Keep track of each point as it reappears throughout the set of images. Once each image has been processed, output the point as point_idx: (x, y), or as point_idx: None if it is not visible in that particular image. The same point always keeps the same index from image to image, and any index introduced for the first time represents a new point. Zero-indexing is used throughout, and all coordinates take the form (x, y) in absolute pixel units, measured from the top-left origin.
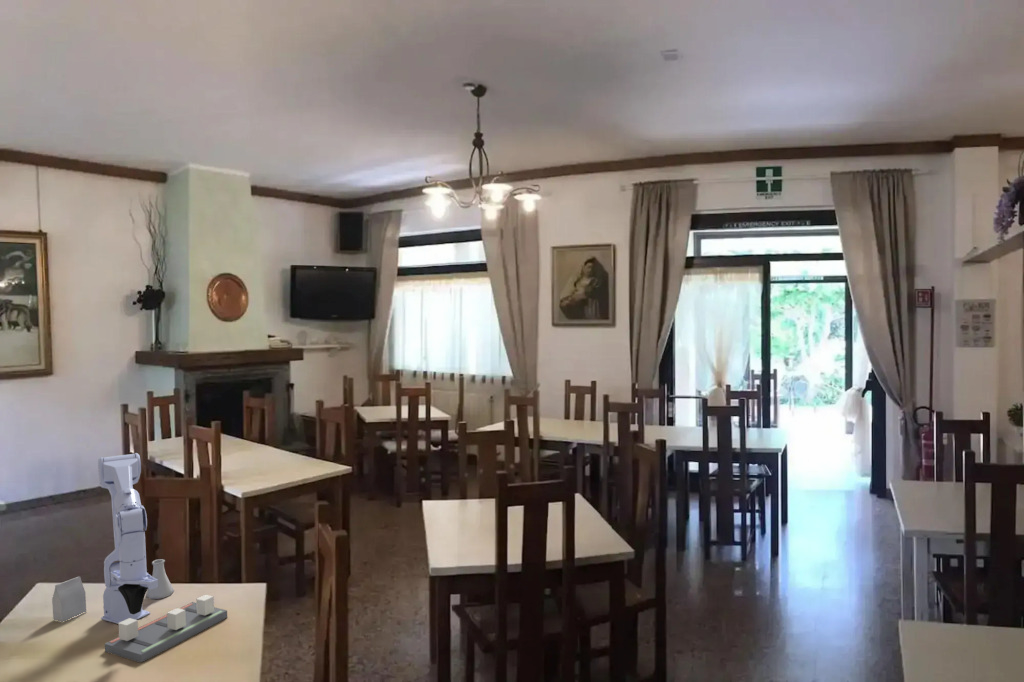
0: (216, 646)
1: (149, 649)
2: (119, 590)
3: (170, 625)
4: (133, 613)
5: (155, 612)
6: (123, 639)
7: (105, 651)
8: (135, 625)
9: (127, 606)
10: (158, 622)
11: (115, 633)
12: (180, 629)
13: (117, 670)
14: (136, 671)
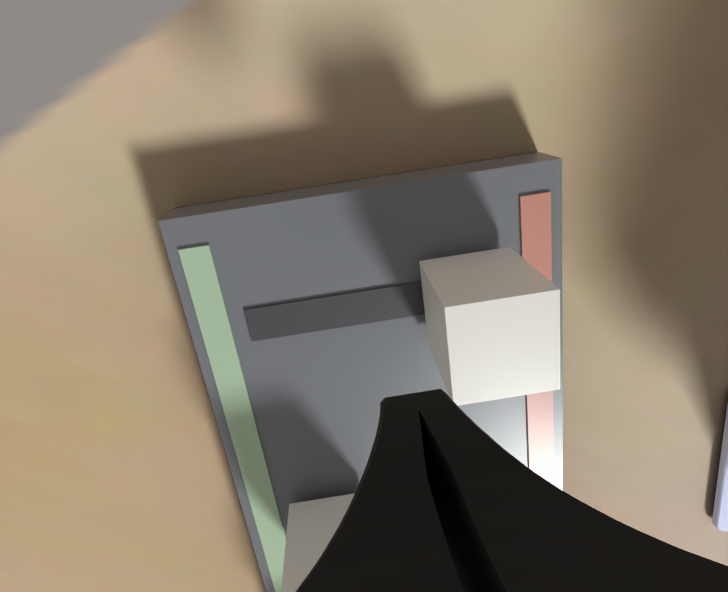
0: (33, 535)
1: (188, 294)
2: (707, 579)
3: (338, 512)
4: (383, 404)
5: (700, 543)
6: (461, 255)
7: (533, 153)
8: (445, 367)
9: (472, 423)
10: None
11: (698, 314)
12: None
13: (198, 57)
14: (76, 127)
